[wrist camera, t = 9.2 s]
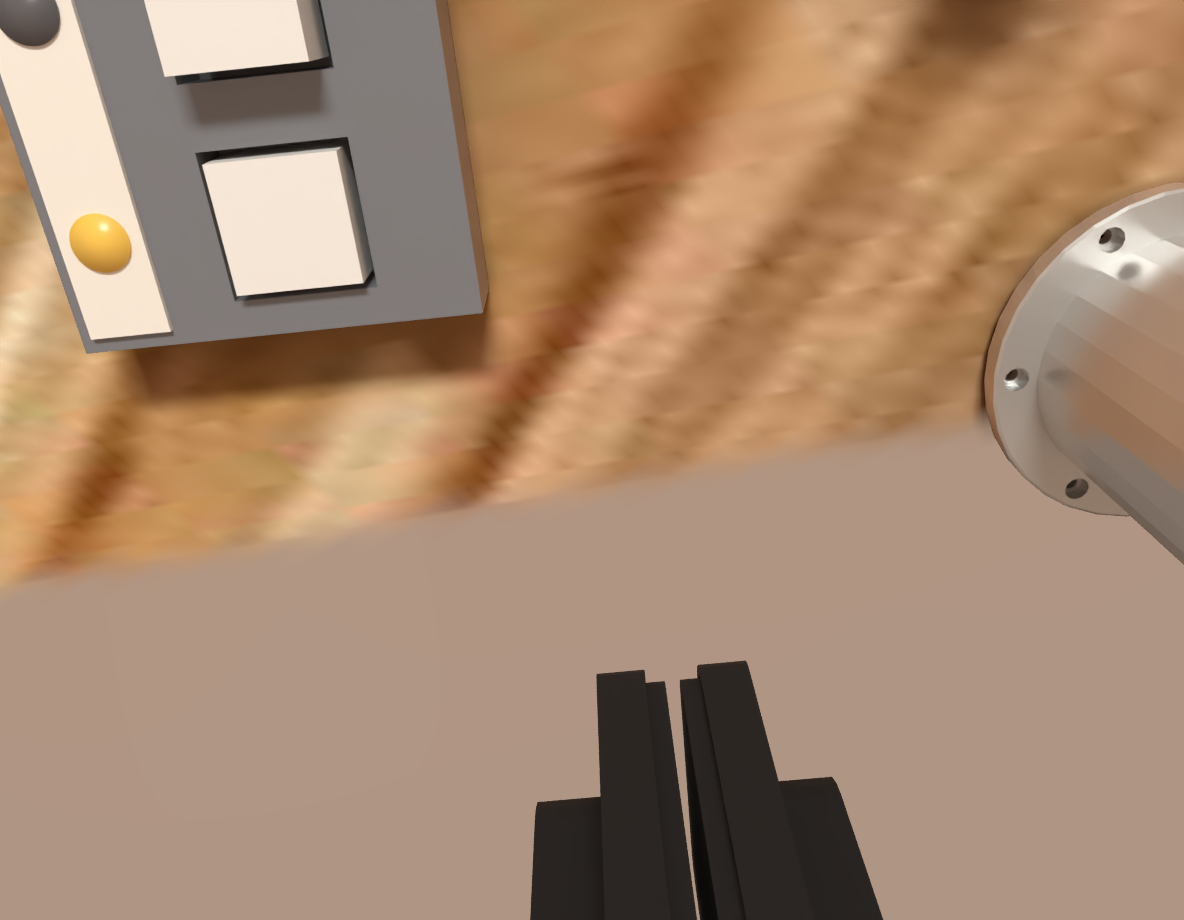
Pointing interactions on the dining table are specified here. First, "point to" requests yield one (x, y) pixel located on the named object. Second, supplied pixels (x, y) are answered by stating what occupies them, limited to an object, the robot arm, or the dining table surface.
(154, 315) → the switch panel
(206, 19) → the middle button
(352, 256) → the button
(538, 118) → the dining table surface
